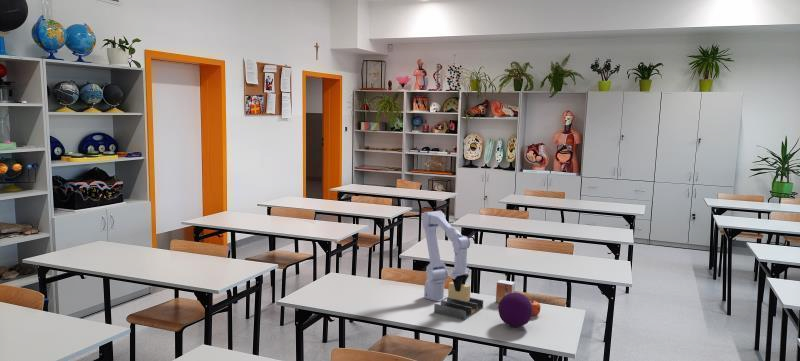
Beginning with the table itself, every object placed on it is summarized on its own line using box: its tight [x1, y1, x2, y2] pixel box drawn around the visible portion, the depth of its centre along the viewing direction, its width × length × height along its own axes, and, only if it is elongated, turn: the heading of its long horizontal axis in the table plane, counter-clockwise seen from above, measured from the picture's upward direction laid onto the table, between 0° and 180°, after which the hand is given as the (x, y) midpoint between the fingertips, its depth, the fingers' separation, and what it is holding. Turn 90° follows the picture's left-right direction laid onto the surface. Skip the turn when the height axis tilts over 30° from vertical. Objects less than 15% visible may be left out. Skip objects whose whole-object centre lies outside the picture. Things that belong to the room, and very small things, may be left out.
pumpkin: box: [530, 299, 541, 317], centre depth 269 cm, size 8×8×7 cm
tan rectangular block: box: [447, 281, 471, 302], centre depth 272 cm, size 10×3×7 cm, turn 56°
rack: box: [433, 296, 484, 321], centre depth 272 cm, size 16×19×4 cm
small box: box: [495, 279, 516, 304], centre depth 285 cm, size 8×6×10 cm
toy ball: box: [497, 291, 533, 328], centre depth 254 cm, size 15×15×15 cm
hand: (459, 290), depth 271 cm, fingers closed on tan rectangular block, 3 cm apart
